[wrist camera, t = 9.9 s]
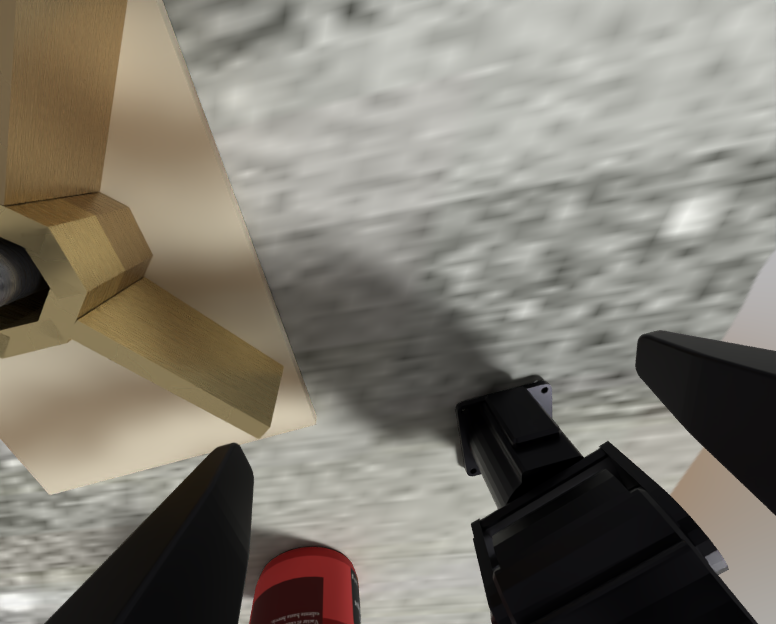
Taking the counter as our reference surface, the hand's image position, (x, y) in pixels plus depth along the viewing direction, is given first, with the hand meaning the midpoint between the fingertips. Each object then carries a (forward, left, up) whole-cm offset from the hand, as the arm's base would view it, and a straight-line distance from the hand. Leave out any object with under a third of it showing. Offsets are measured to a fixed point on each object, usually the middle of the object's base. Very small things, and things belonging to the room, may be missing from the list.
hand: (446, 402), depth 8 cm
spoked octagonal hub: (+4, +11, -12) cm, 17 cm away
